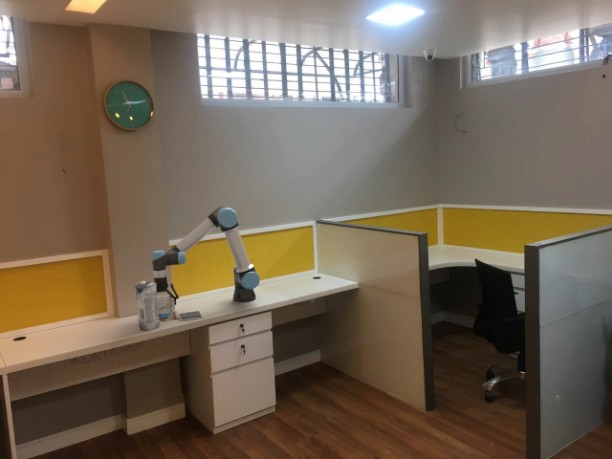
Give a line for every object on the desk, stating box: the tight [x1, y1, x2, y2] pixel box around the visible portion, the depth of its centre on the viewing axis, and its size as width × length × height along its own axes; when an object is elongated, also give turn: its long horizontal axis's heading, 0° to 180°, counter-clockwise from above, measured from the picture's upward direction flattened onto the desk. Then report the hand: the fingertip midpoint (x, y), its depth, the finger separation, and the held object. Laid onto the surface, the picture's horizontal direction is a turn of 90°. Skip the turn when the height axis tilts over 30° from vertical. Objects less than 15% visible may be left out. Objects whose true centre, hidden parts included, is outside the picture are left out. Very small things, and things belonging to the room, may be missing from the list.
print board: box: [159, 310, 180, 323], centre depth 321 cm, size 16×15×1 cm
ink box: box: [157, 294, 174, 318], centre depth 320 cm, size 9×8×12 cm
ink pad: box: [177, 310, 203, 322], centre depth 320 cm, size 13×12×1 cm
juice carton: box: [134, 280, 160, 332], centre depth 300 cm, size 9×10×27 cm
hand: (163, 311), depth 321 cm, fingers open, 12 cm apart
